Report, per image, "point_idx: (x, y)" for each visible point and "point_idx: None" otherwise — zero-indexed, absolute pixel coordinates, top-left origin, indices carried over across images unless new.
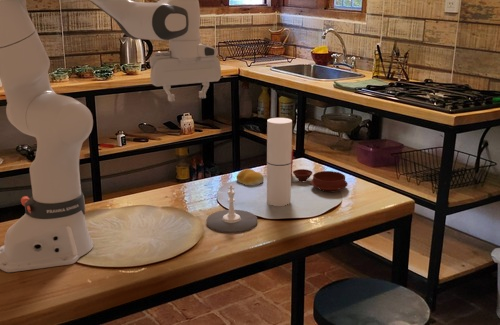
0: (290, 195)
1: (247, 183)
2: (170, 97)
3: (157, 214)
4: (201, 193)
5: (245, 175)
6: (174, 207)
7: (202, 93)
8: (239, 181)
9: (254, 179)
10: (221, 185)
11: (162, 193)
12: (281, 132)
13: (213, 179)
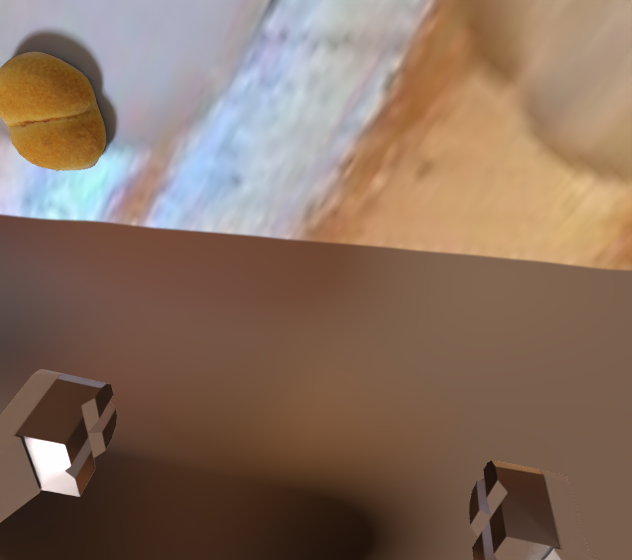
0: None
1: (81, 75)
2: (571, 518)
3: (583, 14)
4: (292, 115)
5: (65, 117)
6: (473, 43)
7: (53, 424)
8: (103, 122)
9: (42, 63)
10: (182, 142)
11: (415, 208)
12: None
13: (183, 213)
